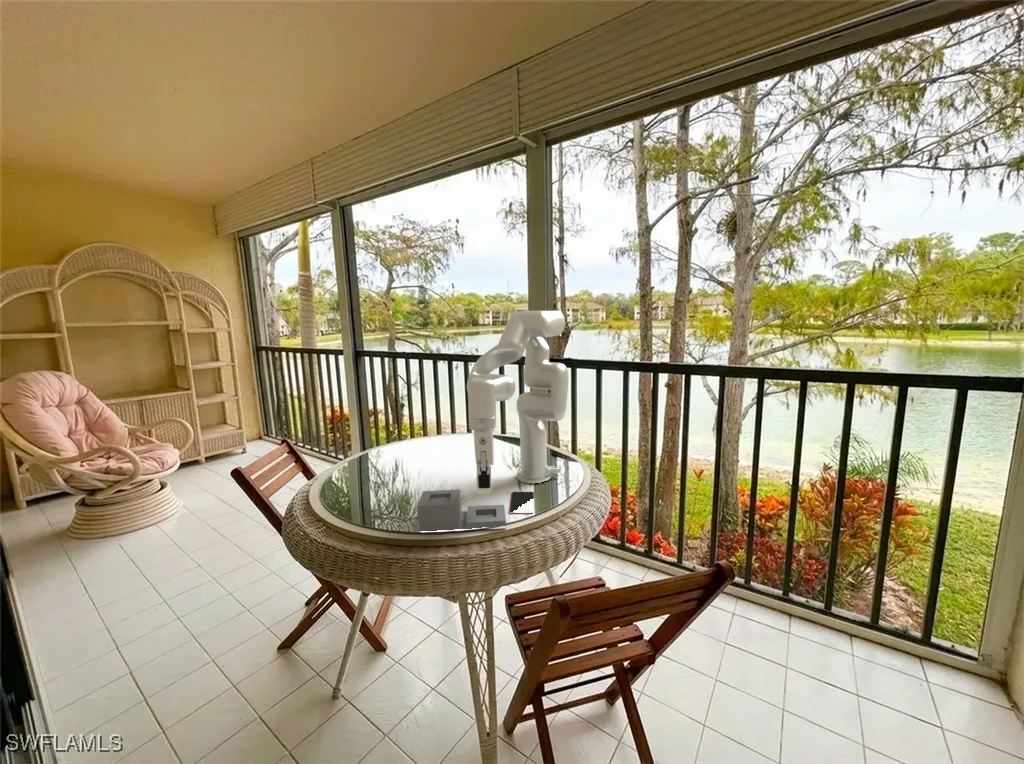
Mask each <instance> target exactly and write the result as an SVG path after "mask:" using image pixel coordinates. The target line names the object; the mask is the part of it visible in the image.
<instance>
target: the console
mask: <svg viewBox="0 0 1024 764" xmlns="http://www.w3.org/2000/svg"><path fill="white" fill-rule="evenodd" d="M461 500H462V499H461V489H440V490H423V491H422V493H421V495H420V498H419V502H418V504H417V519H418V532H419V531H437V530H454V529H472V528H482V527H494V526H500V525H506V526H507V519H506V509H505V508H506V507H505V504H491V505H489V504H488V505H487V504H486V505H471V506H469V505H468V506H467V509H466V511H465V510H464V511H462V504H461V503H462V502H461Z"/></svg>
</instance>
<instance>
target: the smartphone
mask: <svg viewBox="0 0 1024 764" xmlns="http://www.w3.org/2000/svg"><path fill="white" fill-rule="evenodd" d="M533 498H534V499H535V492H534V491H512V492H511V497H510V505H509V506H510V507H509V513H510V512H513V511H514V510H517V509H518V507H519V506H520V507H521V506H522V504H525V503H527V501H530V499H533Z"/></svg>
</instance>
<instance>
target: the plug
mask: <svg viewBox="0 0 1024 764" xmlns="http://www.w3.org/2000/svg"><path fill="white" fill-rule="evenodd" d="M486 463H487V462H486ZM480 464H481V462H480ZM486 468H487V466H486ZM478 474H479V464H478V465H477V464H476V495H491V494H492V465H491V464H489V474H490V488H479V483H478Z"/></svg>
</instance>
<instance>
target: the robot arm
mask: <svg viewBox="0 0 1024 764" xmlns="http://www.w3.org/2000/svg"><path fill="white" fill-rule="evenodd" d="M565 327H566V319H565V316H564V313H563V312H562V311H560V310H519V311H515V312H513V313H511V315H510V316H509V317H508V321H507V322H506V325H505V326H504V330H503V332H502V334H501V336H500V339H499V341H498V343H497V344H496V345H495V346H493V347H492V348H490V349H488V351H486V352H485V353H484V354H482V355H481V356H480V357H479V358H478V359H477V360H476V361H475V363H474V364H473V367H472V369H471V370H470V373H469V375H468V377H467V378H468V379H467V382H466V391H467V397H468V398H467V400H468V402H467V403H468V429H469V430H471V431H473V443H474V445H473V446H474V456H475V463H476V466H477V465H478V464H479V474H478V483H479V488H490V474H489V464H491V466H493V465H494V464H495V459H494V458H495V457H494V456H495V453H494V430H495V429H497V404H496V403H497V402H505V401H508V400H510V399H511V398H512V397H513V396H514V394H515V392H516V382H515V380H514V379H513V378H512V377H511V376H510V375H506V374H499V373H498V374H496V373H494V374H493V373H492V372H493V371H494V370H497V369H499V368H500V367H504V366H506V365H510V364H512V363H514V362H517V361H519V360H521V359H522V357H523V355H524V353H525V358H524V366H523V367H524V368H523V370H524V371H523V383H524V385H525V386H526V387H527V388H531V389H539V390H551V392H552V393H549V392H540V391H539V392H538V391H537V392H536V391H527V392H523V393H521V394H520V395H519V396H518V397H517V401H516V412H517V415H518V416H517V417H518V421H519V442H520V445H519V447H520V470H519V471H518V472H516V479H517V480H518V481H519V482H521V483H524V484H529V483H532V484H531V485H536V484H535V483H539V484H542V483H541V482H544V481H547V480H549V479H550V478H551V479H552V473H553V474H560V473H561V468H560V466H559V467H556V465H548V457H547V456H548V453H547V452H548V451H547V450H548V449H547V447H548V446H547V443H548V441H547V440H548V439H547V436H548V433H547V428H546V425H545V424H544V422H543V421H548V422H549V421H550V422H559V421H562V420H563V419H564V418H565V416H566V412H567V401H568V392H569V391H568V389H569V370H568V368H567V366H566V365H565V363H561V362H552V361H551V362H550V346H549V345H548V342H547V341H546V339H545V338H551V337H556V336H557V337H558V336H560V335H562V333H563V332H564V330H565ZM480 462H481V464H480ZM486 462H487V463H486ZM486 466H487V468H486ZM551 479H550V480H551ZM550 480H549V481H550ZM547 482H548V481H547ZM544 483H545V482H544Z"/></svg>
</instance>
